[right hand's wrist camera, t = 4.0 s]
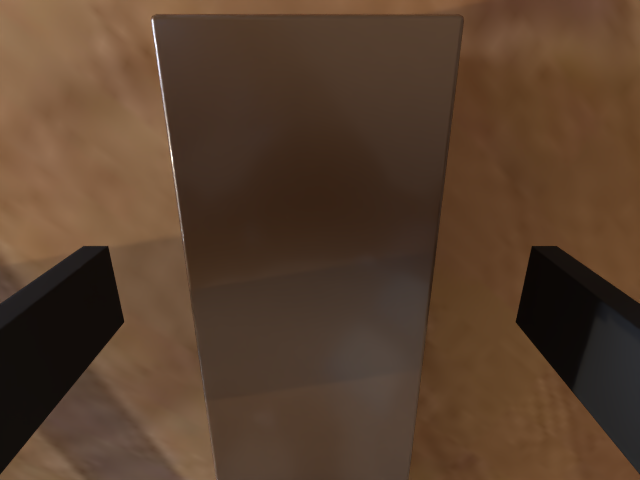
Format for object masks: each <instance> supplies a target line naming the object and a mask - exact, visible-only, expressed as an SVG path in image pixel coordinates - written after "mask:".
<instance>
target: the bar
mask: <svg viewBox="0 0 640 480" xmlns="http://www.w3.org/2000/svg"><path fill="white" fill-rule="evenodd" d="M151 22H152V29H153V36H154V43H155V50H156V58H157V65H158V72H159V79H160V86H161V93H162V100H163V107H164V114H165V121H166V128H167V135H168V142H169V149H170V156H171V164H172V171H173V178H174V185H175V192H176V199H177V206H178V213H179V220H180V227H181V234H182V241H183V248H184V255H185V262H186V270H187V277H188V284H189V291H190V298H191V305H192V312H193V319H194V326H195V333H196V340H197V347H198V354H199V361H200V368H201V375H202V383H203V390H204V397H205V404H206V411H207V418H208V425H209V432H210V439H211V446H212V453H213V460H214V467H215V474H216V480H409V471H410V463H411V455H412V447H413V438H414V430H415V422H416V414H417V405H418V397H419V389H420V380H421V372H422V364H423V356H424V347H425V339H426V331H427V322H428V314H429V306H430V298H431V289H432V281H433V273H434V265H435V256H436V248H437V240H438V231H439V223H440V215H441V207H442V198H443V190H444V182H445V173H446V165H447V157H448V149H449V140H450V132H451V124H452V116H453V107H454V99H455V91H456V82H457V74H458V66H459V58H460V49H461V41H462V33H463V24H464V19H463V16H461V15H376V14H156V15H154V16H152V19H151Z"/></svg>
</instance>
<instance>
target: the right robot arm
mask: <svg viewBox="0 0 640 480" xmlns="http://www.w3.org/2000/svg"><path fill="white" fill-rule="evenodd" d="M123 323H124V318H123V314H122V309H121V304H120V300H119V295H118V290H117V286H116V281H115V276H114V271H113V267H112V262H111V257H110V253H109V248H108V246H83V247H81V248H80V249H79V250H77V251H76V252H74V253H73V254H71V255H70V256H68V257H67V258H66V259H64V260H63V261H61V262H60V263H58V264H57V265H56V266H54V267H53V268H51V269H50V270H48V271H47V272H45V273H44V274H43V275H41V276H40V277H38V278H37V279H35V280H34V281H32V282H31V283H30V284H28V285H27V286H25V287H24V288H22V289H21V290H20V291H18V292H17V293H15V294H14V295H12V296H11V297H9V298H8V299H7V300H5V301H4V302H2V303H1V304H0V474H1V473H2V472H3V470H4V469H5V468H6V467H7V465H8V464H9V463H10V462H11V461H12V459H13V458H14V457H15V456H16V454H17V453H18V452H19V451H20V449H21V448H22V447H23V446H24V445H25V443H26V442H27V441H28V440H29V438H30V437H31V436H32V435H33V434H34V432H35V431H36V430H37V429H38V427H39V426H40V425H41V424H42V422H43V421H44V420H45V419H46V418H47V416H48V415H49V414H50V413H51V411H52V410H53V409H54V408H55V407H56V405H57V404H58V403H59V402H60V400H61V399H62V398H63V397H64V395H65V394H66V393H67V392H68V391H69V389H70V388H71V387H72V386H73V384H74V383H75V382H76V381H77V380H78V378H79V377H80V376H81V375H82V373H83V372H84V371H85V370H86V368H87V367H88V366H89V365H90V364H91V362H92V361H93V360H94V359H95V357H96V356H97V355H98V354H99V353H100V351H101V350H102V349H103V348H104V346H105V345H106V344H107V343H108V341H109V340H110V339H111V338H112V337H113V335H114V334H115V333H116V332H117V330H118V329H119V328H120V327H121V326H122V324H123ZM516 323H517V324H518V326H519V327H520V328H521V329H522V330H523V332H524V333H525V334H526V335H527V337H528V338H529V339H530V340H531V341H532V343H533V344H534V345H535V346H536V348H537V349H538V350H539V351H540V353H541V354H542V355H543V356H544V357H545V359H546V360H547V361H548V362H549V364H550V365H551V366H552V367H553V368H554V370H555V371H556V372H557V373H558V375H559V376H560V377H561V378H562V380H563V381H564V382H565V383H566V384H567V386H568V387H569V388H570V389H571V391H572V392H573V393H574V394H575V395H576V397H577V398H578V399H579V400H580V402H581V403H582V404H583V405H584V407H585V408H586V409H587V410H588V411H589V413H590V414H591V415H592V416H593V418H594V419H595V420H596V421H597V422H598V424H599V425H600V426H601V427H602V429H603V430H604V431H605V432H606V434H607V435H608V436H609V437H610V438H611V440H612V441H613V442H614V443H615V445H616V446H617V447H618V448H619V449H620V451H621V452H622V453H623V454H624V456H625V457H626V458H627V459H628V461H629V462H630V463H631V464H632V465H633V467H634V468H635V469H636V470H637V472H638V473H639V474H640V304H639V303H638V302H636V301H635V300H633V299H632V298H631V297H629V296H628V295H626V294H625V293H623V292H622V291H620V290H619V289H618V288H616V287H615V286H613V285H612V284H610V283H609V282H608V281H606V280H605V279H603V278H602V277H600V276H599V275H597V274H596V273H595V272H593V271H592V270H590V269H589V268H587V267H586V266H584V265H583V264H582V263H580V262H579V261H577V260H576V259H574V258H573V257H572V256H570V255H569V254H567V253H566V252H564V251H563V250H561V249H560V248H559V247H557V246H532V248H531V253H530V257H529V262H528V267H527V271H526V276H525V281H524V286H523V290H522V295H521V300H520V304H519V309H518V314H517V318H516Z"/></svg>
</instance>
